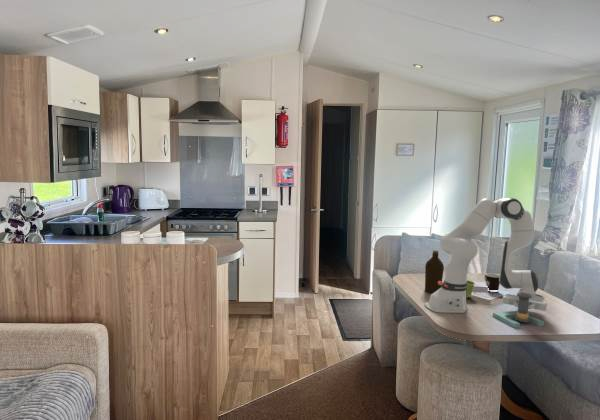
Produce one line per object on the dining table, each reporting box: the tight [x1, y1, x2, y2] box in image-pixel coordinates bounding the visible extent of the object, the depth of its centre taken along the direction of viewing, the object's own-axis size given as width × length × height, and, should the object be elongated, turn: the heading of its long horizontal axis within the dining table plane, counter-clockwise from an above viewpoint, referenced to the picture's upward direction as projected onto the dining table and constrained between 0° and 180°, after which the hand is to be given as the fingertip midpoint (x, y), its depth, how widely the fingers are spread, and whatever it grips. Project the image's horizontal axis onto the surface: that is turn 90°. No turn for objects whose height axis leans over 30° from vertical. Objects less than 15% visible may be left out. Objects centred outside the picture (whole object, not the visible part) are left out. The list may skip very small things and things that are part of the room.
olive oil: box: [424, 249, 445, 294], centre depth 275 cm, size 11×11×25 cm
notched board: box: [492, 310, 545, 329], centre depth 231 cm, size 17×16×2 cm
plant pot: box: [466, 280, 476, 299], centre depth 268 cm, size 9×9×9 cm
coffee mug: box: [484, 273, 500, 291], centre depth 282 cm, size 12×9×10 cm
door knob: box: [514, 292, 531, 323], centre depth 227 cm, size 6×6×13 cm
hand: (523, 306), depth 226 cm, fingers closed on door knob, 4 cm apart
